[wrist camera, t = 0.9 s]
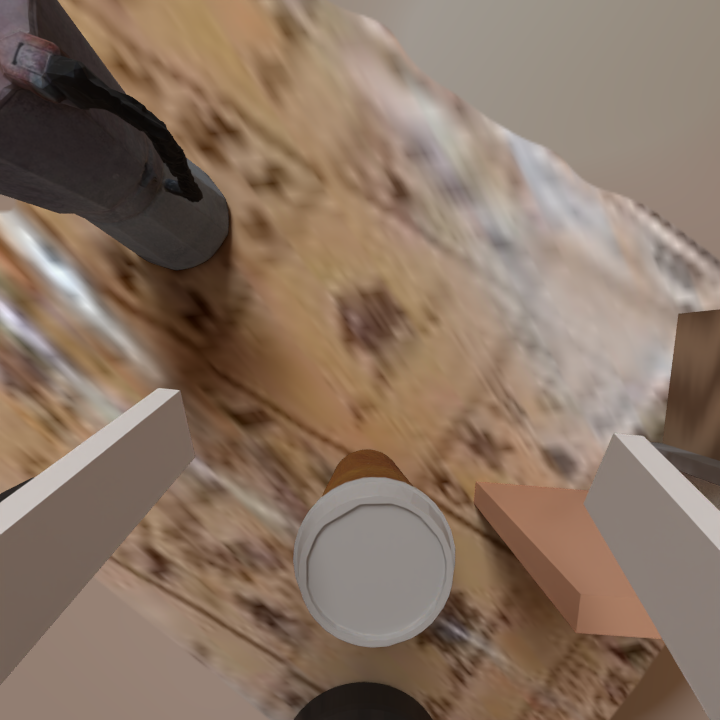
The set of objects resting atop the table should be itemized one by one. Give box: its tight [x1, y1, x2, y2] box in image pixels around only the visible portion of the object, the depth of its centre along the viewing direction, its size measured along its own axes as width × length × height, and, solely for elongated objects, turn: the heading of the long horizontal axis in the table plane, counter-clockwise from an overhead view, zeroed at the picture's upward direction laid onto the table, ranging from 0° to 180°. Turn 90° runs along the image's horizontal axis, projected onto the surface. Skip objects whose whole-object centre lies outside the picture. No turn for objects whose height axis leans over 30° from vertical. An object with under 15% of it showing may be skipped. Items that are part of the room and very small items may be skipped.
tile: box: [474, 482, 662, 639], centre depth 24 cm, size 2×12×14 cm, turn 85°
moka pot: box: [0, 0, 229, 270], centre depth 19 cm, size 10×15×20 cm, turn 75°
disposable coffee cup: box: [293, 450, 455, 647], centre depth 24 cm, size 10×10×12 cm
